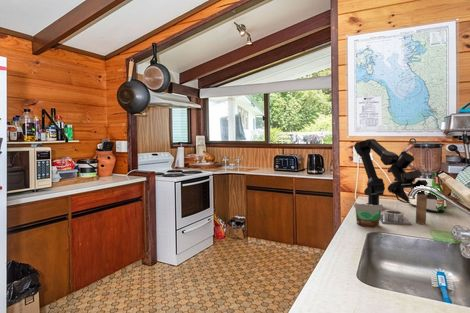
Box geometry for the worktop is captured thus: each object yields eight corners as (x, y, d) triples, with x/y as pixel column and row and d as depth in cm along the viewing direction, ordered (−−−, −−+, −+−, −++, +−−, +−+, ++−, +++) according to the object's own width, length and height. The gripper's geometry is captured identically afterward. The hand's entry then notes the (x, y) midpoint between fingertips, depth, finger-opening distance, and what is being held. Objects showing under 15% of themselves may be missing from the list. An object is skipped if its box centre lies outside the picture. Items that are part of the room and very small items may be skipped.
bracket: (377, 216, 153) (377, 208, 153) (403, 217, 150) (404, 209, 150) (382, 223, 142) (382, 215, 142) (411, 225, 139) (411, 216, 138)
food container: (353, 226, 138) (354, 204, 137) (353, 222, 144) (353, 201, 143) (383, 229, 134) (384, 206, 133) (382, 225, 140) (382, 203, 139)
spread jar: (426, 212, 158) (427, 190, 157) (413, 207, 170) (414, 186, 169) (449, 212, 159) (450, 190, 158) (434, 206, 170) (435, 186, 169)
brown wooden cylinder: (414, 221, 144) (415, 194, 143) (423, 222, 143) (425, 194, 142) (417, 224, 140) (418, 196, 139) (427, 224, 139) (428, 196, 138)
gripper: (392, 165, 145) (409, 192, 135) (425, 163, 149) (444, 190, 139) (380, 179, 153) (396, 205, 143) (412, 177, 157) (429, 203, 147)
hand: (416, 200), depth 143 cm, fingers open, 9 cm apart
